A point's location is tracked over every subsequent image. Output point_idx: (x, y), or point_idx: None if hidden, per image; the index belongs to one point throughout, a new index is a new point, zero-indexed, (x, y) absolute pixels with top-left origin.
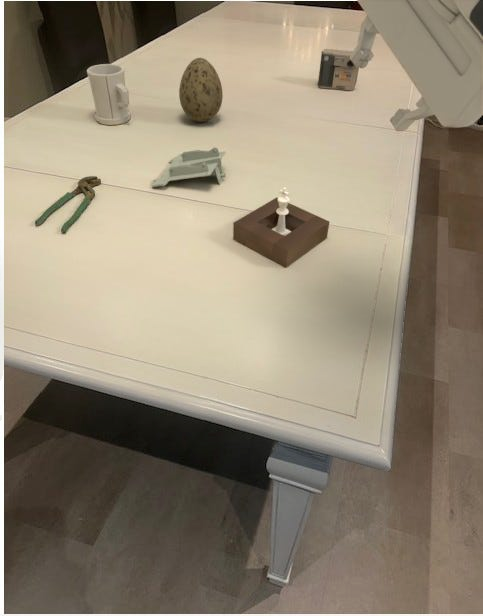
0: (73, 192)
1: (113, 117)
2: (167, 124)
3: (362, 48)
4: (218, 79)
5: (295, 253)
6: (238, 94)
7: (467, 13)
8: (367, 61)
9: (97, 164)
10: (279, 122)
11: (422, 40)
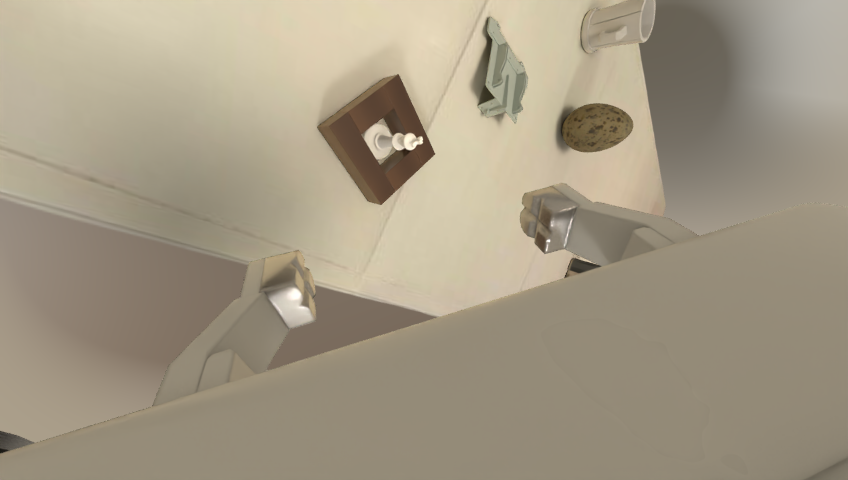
0: None
1: (590, 26)
2: (568, 89)
3: (575, 216)
4: (603, 146)
5: (334, 143)
6: (583, 181)
7: None
8: (534, 235)
9: None
10: None
11: None
